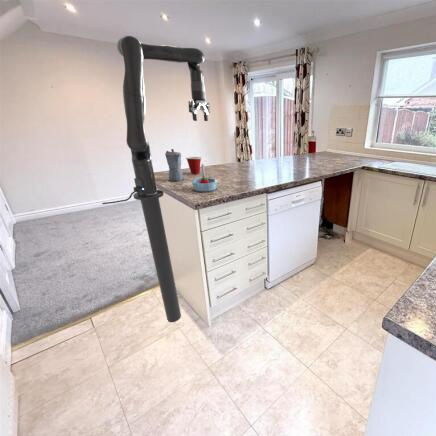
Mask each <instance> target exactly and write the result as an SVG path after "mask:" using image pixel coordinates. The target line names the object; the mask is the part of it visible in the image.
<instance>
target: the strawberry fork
mask: <svg viewBox="0 0 436 436" xmlns="http://www.w3.org/2000/svg"><path fill="white" fill-rule="evenodd" d="M200 167H201V174H202V175H201V176H202V177H200V178H201V181H200V183H201V184H203V183H209V181H208V180H207V178H208V177H206V172H205V171H206V170H205V165H204V164H203V163H201V164H200Z"/></svg>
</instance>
